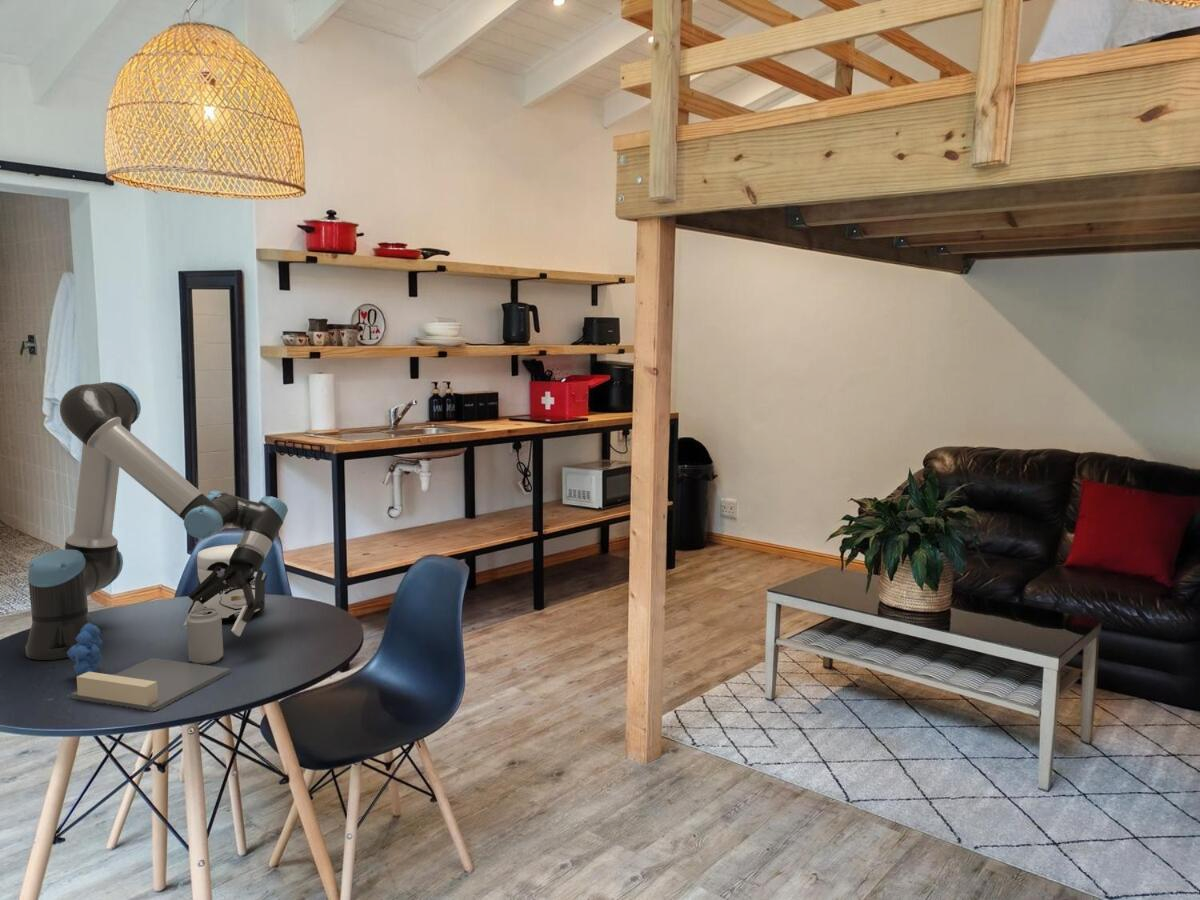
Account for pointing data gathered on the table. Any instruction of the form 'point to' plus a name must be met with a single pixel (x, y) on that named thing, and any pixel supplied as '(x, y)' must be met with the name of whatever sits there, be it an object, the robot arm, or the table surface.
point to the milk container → (230, 598)
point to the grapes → (86, 649)
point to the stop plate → (167, 680)
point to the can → (204, 636)
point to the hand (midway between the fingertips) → (211, 630)
